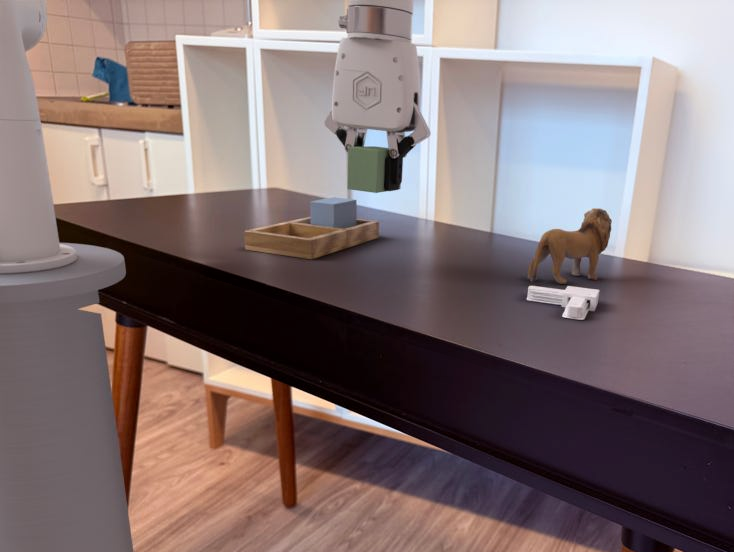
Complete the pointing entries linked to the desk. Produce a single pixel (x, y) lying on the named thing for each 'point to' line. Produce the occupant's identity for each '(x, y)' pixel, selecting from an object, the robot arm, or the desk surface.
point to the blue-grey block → (333, 212)
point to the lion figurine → (574, 245)
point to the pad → (367, 168)
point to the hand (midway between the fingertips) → (374, 186)
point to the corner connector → (567, 299)
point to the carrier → (308, 238)
